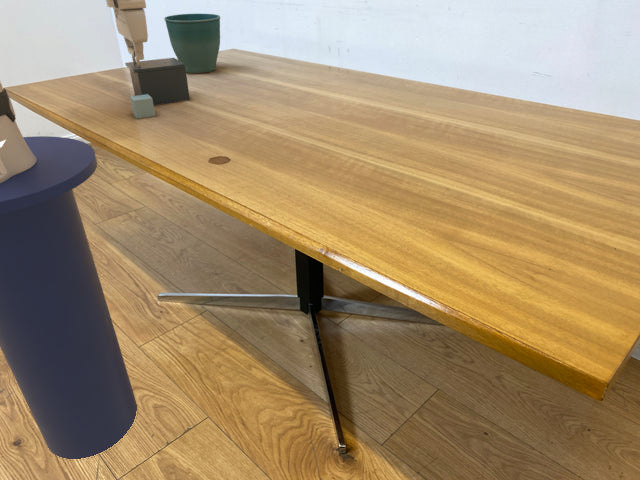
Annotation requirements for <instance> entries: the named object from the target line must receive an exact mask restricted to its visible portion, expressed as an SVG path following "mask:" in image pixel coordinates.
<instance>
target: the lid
mask: <svg viewBox="0 0 640 480" xmlns="http://www.w3.org/2000/svg"><path fill="white" fill-rule="evenodd" d="M127 51H129V52H130V53H131V54H130V53H129V52H128V53H129V54H130V55H131V58H132V61H129V62H125V63H124V64H125V66H126V67H127V68H128V69H129V71H130V70H131V71H133V72H134V73H138V72H147V71H156V70H164V69H173V68H182V67H185V64H184V63H182V62H180V61H178V59H177V58H176V57H166V58H158V59H148V60H138V59H136V55H135V48H134V47H129V49H128V48H127Z"/></svg>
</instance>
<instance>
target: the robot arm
mask: <svg viewBox="0 0 640 480" xmlns="http://www.w3.org/2000/svg"><path fill="white" fill-rule="evenodd" d="M105 2H106V6H107V7H108V8H112V9H113V14H114V19H115V24H116V29H117V33H118V34H119V35H121V36H122V37H123V39H124V42H125V45H126V48H127V51H128V49H129V47H134V48H135V55H136V57H135V59H138V60H139V61H144V60H145V55H144V43H147V42H148V38H149V37H148V36H149V34H148V25H147V17H146V11H145V9H146V8H147V3H146V0H105ZM128 54H129V55H132V54H131V53H130V52H129V51H128ZM16 116H17V115H16V112H15V108H14V106H13V103H12V100H11V98H10V95H9V94H8V91H7V90H6V89H5V88H4V87H3V84H2V82H1V80H0V183H2V182H4V181H6V180H7V179H9V178H10V177H12V176H14V175H17V174H19V173H21V172H24V171H26V170H28V169H29V168H31V167H32V166H34V165H35V163H36V162H37V158H36V157H35V155H34V154H33V153H32V151H31V150H30V148H29V147H28V145H27V143H26V142H25V140H24V138H23V137H24V136H23V134H22V132H21V130H20V128H19V125H18V123H17V121H16V119H17V118H16Z"/></svg>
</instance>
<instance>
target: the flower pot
mask: <svg viewBox="0 0 640 480" xmlns="http://www.w3.org/2000/svg"><path fill="white" fill-rule="evenodd" d="M163 18H164V21H165V26H166V29H167V32H168V33H167V34H168V38H169V42H170V45H171V48H172V50H173V52H174V55H175V56H176V59H177V60H178V61H180V62H182V63H184V64H185V69H186V73H189V74H203V73H210V72H213V71H215V70H216V69H217V62H218V56H219V52H220V46H221V15H219V14H216V13H180V14H172V15H167V16H165V17H163Z"/></svg>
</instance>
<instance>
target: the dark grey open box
mask: <svg viewBox="0 0 640 480" xmlns="http://www.w3.org/2000/svg"><path fill="white" fill-rule="evenodd" d="M129 73H130V78H131V83H132V88H133V93H134V96H138V95H145V94H148V95H149V96H150V97H152V100H153V105H154V106H160V105H165V104H173V103H181V102H186V101H190V100H191V98H190V91H189V83H188V77H187V76H188V75H187V72H186V69H185V67H182V68H173V69H164V70H156V71H147V72H138V73H134V72H133V71H131V70H130V69H129Z"/></svg>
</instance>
